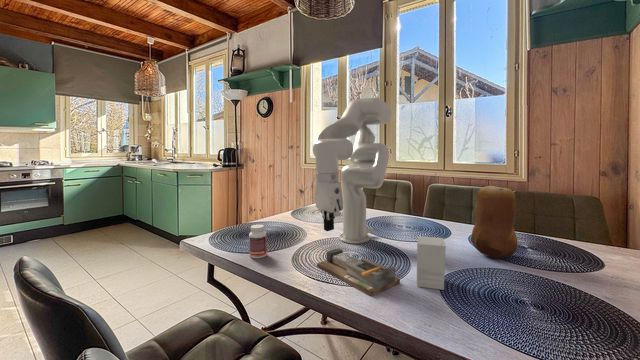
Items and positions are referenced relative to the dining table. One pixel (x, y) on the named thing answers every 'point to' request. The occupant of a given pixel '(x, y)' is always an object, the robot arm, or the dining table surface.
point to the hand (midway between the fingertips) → (329, 229)
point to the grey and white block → (343, 259)
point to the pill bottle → (257, 242)
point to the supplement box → (430, 262)
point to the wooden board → (366, 283)
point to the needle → (371, 271)
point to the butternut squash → (495, 222)
